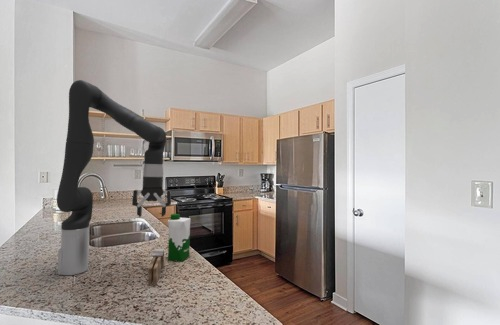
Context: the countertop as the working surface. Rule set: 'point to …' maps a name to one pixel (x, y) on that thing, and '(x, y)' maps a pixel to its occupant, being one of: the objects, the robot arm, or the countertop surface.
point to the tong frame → (150, 271)
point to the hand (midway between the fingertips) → (151, 216)
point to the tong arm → (156, 270)
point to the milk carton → (178, 238)
